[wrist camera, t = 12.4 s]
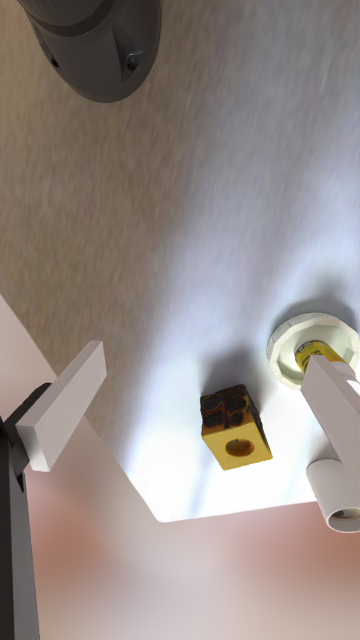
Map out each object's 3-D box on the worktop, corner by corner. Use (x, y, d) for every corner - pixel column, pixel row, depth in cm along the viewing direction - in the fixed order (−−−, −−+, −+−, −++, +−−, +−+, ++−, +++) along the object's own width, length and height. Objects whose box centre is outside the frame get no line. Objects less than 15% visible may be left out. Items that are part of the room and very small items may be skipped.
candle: (199, 396, 49) (198, 436, 40) (243, 381, 47) (254, 420, 38) (218, 429, 52) (221, 472, 43) (260, 416, 50) (274, 459, 41)
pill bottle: (303, 332, 40) (338, 369, 30) (335, 344, 41) (380, 383, 31) (286, 360, 43) (312, 402, 33) (315, 370, 43) (351, 415, 33)
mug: (302, 461, 54) (323, 510, 45) (345, 454, 52) (376, 504, 43) (310, 490, 58) (331, 540, 49) (350, 484, 56) (380, 536, 47)
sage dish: (276, 308, 40) (281, 314, 38) (364, 316, 39) (375, 322, 37) (259, 377, 46) (262, 386, 43) (335, 385, 45) (343, 395, 43)
